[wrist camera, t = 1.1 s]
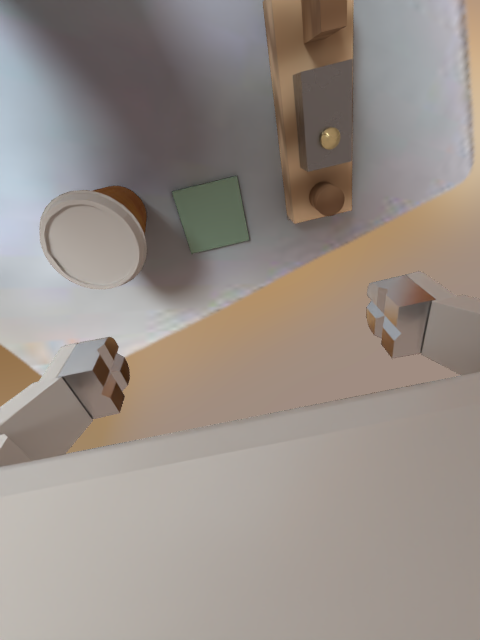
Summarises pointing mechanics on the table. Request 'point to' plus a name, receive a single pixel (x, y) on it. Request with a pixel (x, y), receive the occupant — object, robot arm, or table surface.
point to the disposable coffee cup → (95, 236)
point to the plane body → (285, 61)
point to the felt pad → (212, 214)
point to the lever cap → (324, 115)
